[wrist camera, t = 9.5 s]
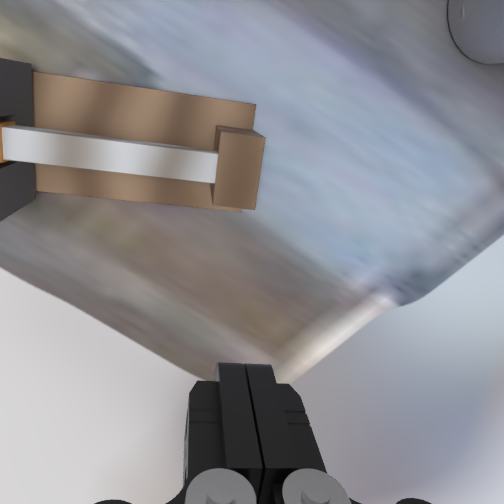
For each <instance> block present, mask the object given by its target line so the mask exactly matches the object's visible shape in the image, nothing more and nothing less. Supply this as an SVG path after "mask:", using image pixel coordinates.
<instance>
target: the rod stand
mask: <svg viewBox="0 0 504 504" xmlns="http://www.w3.org/2000/svg"><path fill="white" fill-rule="evenodd" d="M32 98H33V127H27V126H19V125H15V122H14V121H6V120H0V163H3V162H6V161H9V160H14V161H23V162H32V163H35V191H41V192H51V193H61V194H70V195H80V196H89V197H99V198H109V199H118V200H128V201H138V202H147V203H157V204H167V205H176V206H186V207H196V208H205V209H215V210H224V211H234V212H242V209H252V210H255V206H256V200H257V193H258V186H259V179H260V172H261V165H262V158H263V151H264V144H265V137H263V136H262V135H260V134H258V133H257V132H255V131H253V124H254V116H255V109H256V104H250V103H243V102H236V101H229V100H223V99H216V98H209V97H202V96H195V95H189V94H182V93H175V92H168V91H161V90H155V89H148V88H141V87H134V86H127V85H121V84H114V83H107V82H100V81H93V80H87V79H80V78H73V77H66V76H59V75H53V74H46V73H39V72H32Z"/></svg>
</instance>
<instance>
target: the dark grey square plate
mask: <svg viewBox="0 0 504 504" xmlns="http://www.w3.org/2000/svg"><path fill="white" fill-rule="evenodd" d="M0 120H6V121H14V122H15V125H19V126H27V127H33V98H32V67H31V64H29V63H23V62H18V61H13V60H7V59H2V58H0ZM34 199H36V192H35V163H32V162H23V161H14V160H9V161H6V162H3V163H0V221H2V220H3V219H5V218H7V217H8V216H10V215H11V214H13V213H14V212H16V211H17V210H19V209H20V208H22V207H23V206H25V205H27V204H28V203H30V202H31V201H33V200H34Z"/></svg>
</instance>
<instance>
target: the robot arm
mask: <svg viewBox="0 0 504 504" xmlns="http://www.w3.org/2000/svg"><path fill="white" fill-rule="evenodd" d="M448 21H449V26H450V31H451V34H452V36H453V39H454V41H455V43H456V45H457V46H458V47H459V49H460V50H461V51H462V52H463V53H464V54H465V55H466V56H468V57H469V58H470V59H472V60H474V61H477V62H479V63H484V64H499V63H504V0H449V4H448ZM184 439H185V440H184V471H183V488H182V490H181V491H180V493H179V494H178V495H177V496H176V497H175V498H173V499H172V500H171V501H169V502H168V503H166V504H361V503H358V502H356V501H354V500H352V499H350V498H349V497H348V495H347V493H346V491H345V489H344V488H343V487H342V486H341V484H340V483H339V482H338V481H337V480H336V479H334V478H333V477H332V476H330V475H329V474H327V472H326V469H325V466H324V463H323V460H322V457H321V454H320V452H319V448H318V446H317V443H316V440H315V437H314V435H313V431H312V428H311V427H310V423H309V420H308V417H307V415H306V414H305V408H304V406H303V403H302V400H301V397H300V396H299V394H298V393H297V392H296V391H295V390H294V389H293V388H292V387H291V386H290V385H289V384H278V383H276V380H275V376H274V373H273V369H272V366H271V365H266V364H241V363H218V362H217V364H216V370H215V378H214V381H197V382H196V384H195V385H194V387H193V388H192V390H191V391H190V393H189V402H188V410H187V420H186V429H185V438H184ZM95 504H131V503H129V502H126V501H122V500H105V501H101V502H97V503H95ZM396 504H431V503H429V502H426V501H424V500H420V499H415V498H406V499H402V500H401V501H398V502H397V503H396Z"/></svg>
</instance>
